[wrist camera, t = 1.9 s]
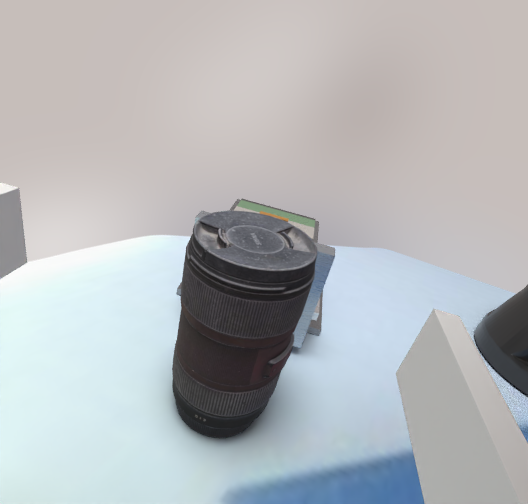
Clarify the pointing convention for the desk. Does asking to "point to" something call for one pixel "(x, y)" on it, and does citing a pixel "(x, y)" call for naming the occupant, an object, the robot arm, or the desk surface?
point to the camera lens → (238, 317)
